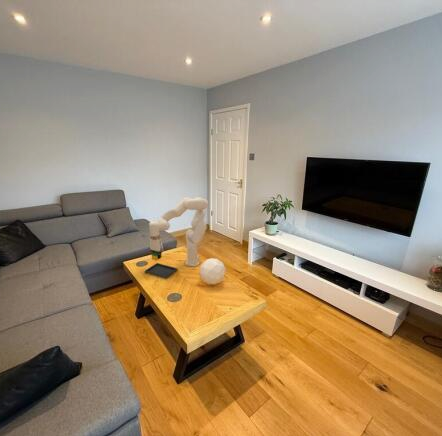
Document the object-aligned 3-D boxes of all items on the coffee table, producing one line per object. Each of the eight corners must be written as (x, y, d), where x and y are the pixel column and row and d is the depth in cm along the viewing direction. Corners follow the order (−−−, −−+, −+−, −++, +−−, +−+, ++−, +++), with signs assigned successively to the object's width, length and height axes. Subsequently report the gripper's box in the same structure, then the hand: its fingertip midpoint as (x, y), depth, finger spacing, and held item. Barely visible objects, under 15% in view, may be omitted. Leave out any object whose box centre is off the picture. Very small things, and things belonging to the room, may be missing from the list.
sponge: (157, 256, 195) (157, 250, 193) (161, 257, 193) (161, 251, 191) (151, 259, 189) (151, 253, 187) (156, 260, 187) (155, 254, 185)
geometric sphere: (206, 291, 179) (190, 272, 175) (218, 273, 192) (203, 255, 188) (222, 289, 165) (205, 269, 161) (234, 269, 179) (219, 250, 175)
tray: (157, 265, 206) (157, 262, 205) (177, 270, 197) (177, 268, 196) (144, 273, 192) (144, 270, 192) (166, 279, 183) (166, 277, 183)
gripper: (166, 237, 185) (168, 258, 190) (150, 233, 192) (151, 254, 198) (160, 240, 179) (162, 261, 184) (143, 236, 186) (145, 257, 191)
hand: (156, 257), depth 191 cm, fingers closed on sponge, 4 cm apart
